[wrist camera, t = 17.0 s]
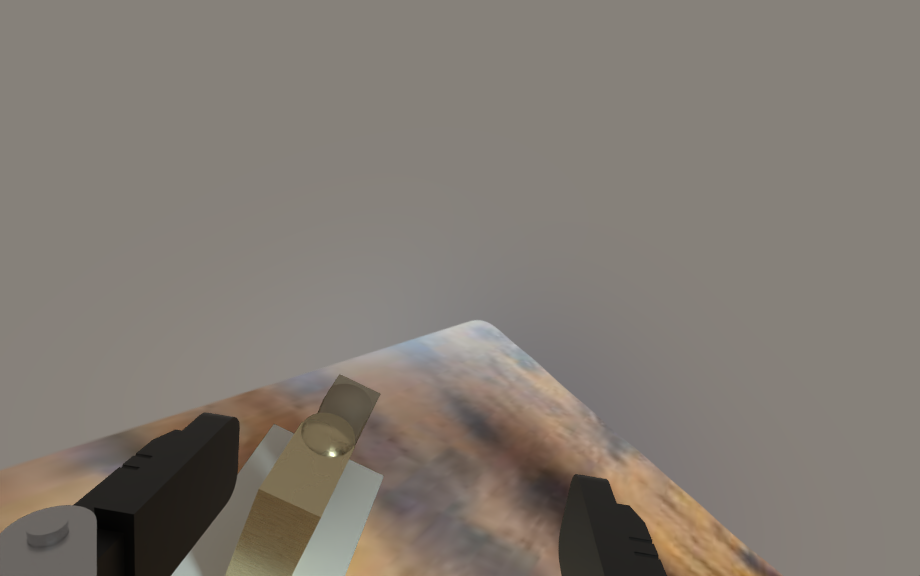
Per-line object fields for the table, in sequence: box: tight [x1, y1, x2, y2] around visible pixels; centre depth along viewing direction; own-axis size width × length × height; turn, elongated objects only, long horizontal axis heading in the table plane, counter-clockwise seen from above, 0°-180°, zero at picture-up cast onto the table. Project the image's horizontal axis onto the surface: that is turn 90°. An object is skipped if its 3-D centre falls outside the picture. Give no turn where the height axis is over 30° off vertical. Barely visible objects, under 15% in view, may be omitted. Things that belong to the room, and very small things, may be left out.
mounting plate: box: [171, 374, 384, 576], centre depth 34 cm, size 16×10×10 cm, turn 168°
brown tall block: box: [225, 413, 355, 576], centre depth 31 cm, size 7×3×11 cm, turn 169°
